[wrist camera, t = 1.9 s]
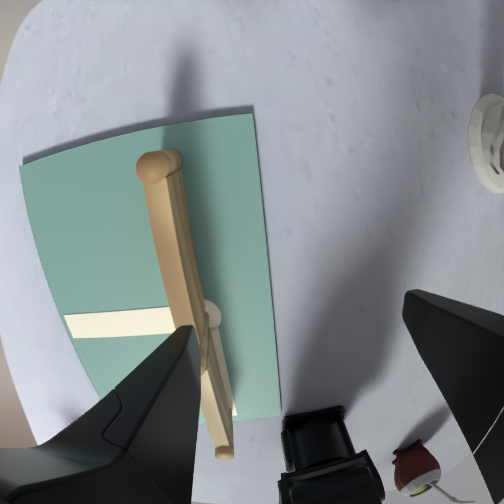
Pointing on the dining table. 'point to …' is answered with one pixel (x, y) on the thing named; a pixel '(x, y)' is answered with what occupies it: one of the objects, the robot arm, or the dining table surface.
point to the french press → (488, 141)
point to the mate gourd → (418, 472)
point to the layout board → (145, 257)
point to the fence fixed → (215, 398)
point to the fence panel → (173, 235)
